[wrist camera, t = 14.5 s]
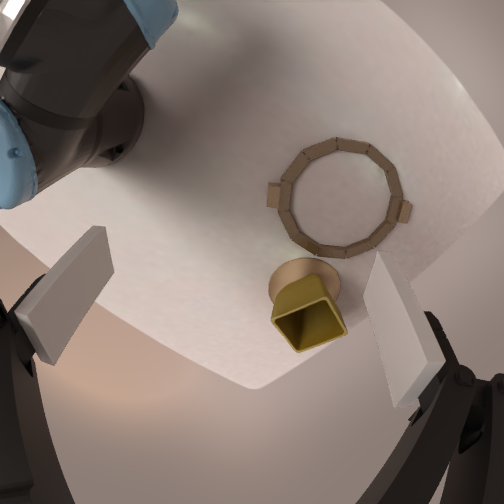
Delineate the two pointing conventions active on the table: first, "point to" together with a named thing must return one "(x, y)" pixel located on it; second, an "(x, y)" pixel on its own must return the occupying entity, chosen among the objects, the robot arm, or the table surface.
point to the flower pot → (307, 314)
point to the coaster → (301, 269)
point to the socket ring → (282, 191)
